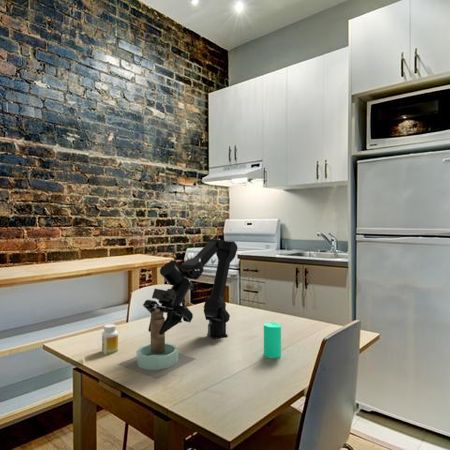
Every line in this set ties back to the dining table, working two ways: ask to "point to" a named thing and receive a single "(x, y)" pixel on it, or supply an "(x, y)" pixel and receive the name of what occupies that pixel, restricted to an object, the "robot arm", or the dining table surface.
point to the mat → (156, 373)
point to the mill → (157, 332)
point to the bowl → (157, 357)
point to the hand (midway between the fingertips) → (154, 332)
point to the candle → (272, 340)
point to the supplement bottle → (109, 339)
